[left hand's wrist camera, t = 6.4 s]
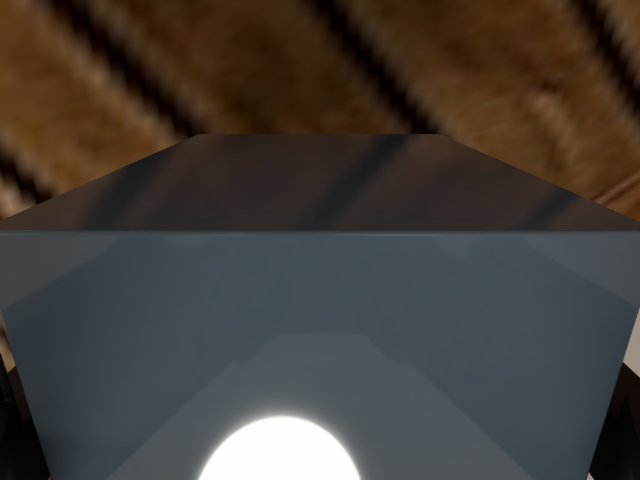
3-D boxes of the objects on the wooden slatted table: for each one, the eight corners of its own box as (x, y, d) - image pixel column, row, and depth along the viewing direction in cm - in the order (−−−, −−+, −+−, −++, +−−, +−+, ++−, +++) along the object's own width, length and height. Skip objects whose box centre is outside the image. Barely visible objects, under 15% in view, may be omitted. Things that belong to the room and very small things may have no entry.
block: (218, 346, 18) (103, 650, 8) (197, 134, 15) (-30, 231, 5) (420, 346, 18) (534, 650, 8) (441, 134, 15) (665, 231, 5)
